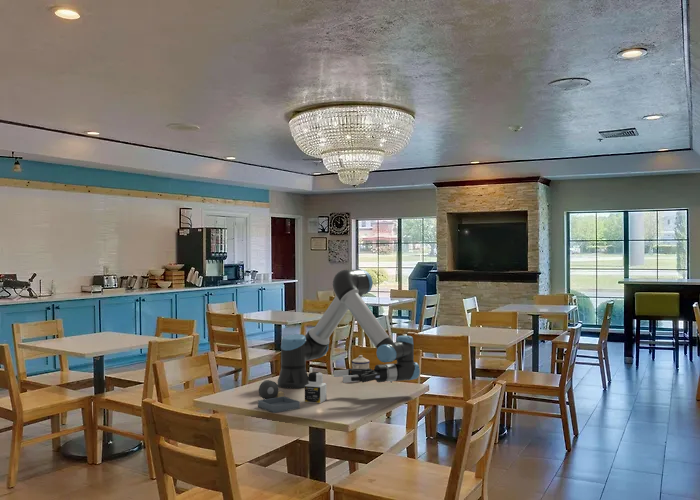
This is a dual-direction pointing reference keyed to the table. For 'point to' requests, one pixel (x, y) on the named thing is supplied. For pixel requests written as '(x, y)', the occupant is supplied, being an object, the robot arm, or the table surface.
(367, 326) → the robot arm
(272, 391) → the disc
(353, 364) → the teacup with lid
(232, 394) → the table surface
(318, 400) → the medicine bottle
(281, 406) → the tray
